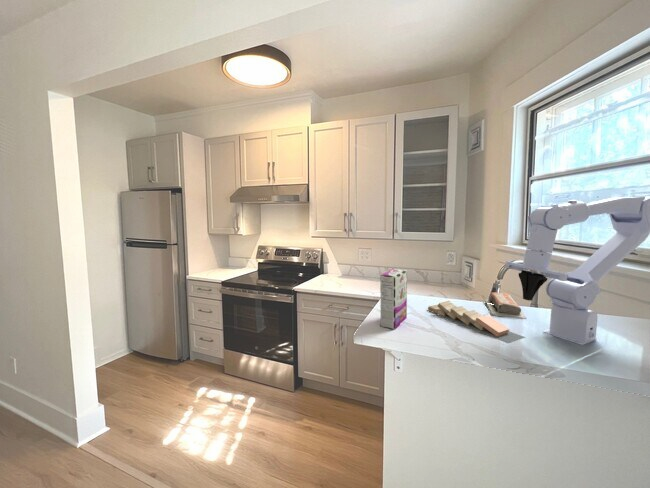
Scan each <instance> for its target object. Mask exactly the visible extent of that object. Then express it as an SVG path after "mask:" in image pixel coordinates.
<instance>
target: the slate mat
mask: <svg viewBox="0 0 650 488" xmlns="http://www.w3.org/2000/svg"><path fill="white" fill-rule="evenodd" d="M436 316H438V317H439V318H443V319H445V320H448V321H451V322H453V323H456V324H457V325H459V326H462V327H464V328H465V327H466V328H467V329H471V330H473V331H475V332H478V333H480V334H484V335H486V336H488V337H491V338H493V339H496V340H498V341H501V342H503V343H506V344H510V343H513V342H516V341H518V340H521V339H525V338H526V336H523V335H521V334H518V333H515V332H513V331H510V330H509V332H508V333H507V334H504V335H501V336H495V335H494V334H493V333H491V332H490V331H488V330H487V329H486V330H482V331H481V330H480V329H479V328H477V327H476V326H475V325H473V324H471V325H467V324H465V323H464V322H463V321H461V320H460V319H459V318H458V319H455V320H454V319H452V318H451V317H450V316H449V315H447V316H443V315H440V314H436Z"/></svg>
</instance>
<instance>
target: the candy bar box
mask: <svg viewBox="0 0 650 488" xmlns="http://www.w3.org/2000/svg"><path fill="white" fill-rule="evenodd" d="M379 277H380V327H381V328H386V329H390V330H396V329H397V328H398V327H399V326H400V325H401V324H402V323H403V322H404V321H405V320H406V319H407V309H408V305H407V304H408V303H407V299H408V283H407V282H408V270H407V269H401V268H392V269H391V270H389V271H386V272H384V273H382V274H380V276H379Z"/></svg>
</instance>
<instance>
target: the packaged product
mask: <svg viewBox="0 0 650 488" xmlns="http://www.w3.org/2000/svg"><path fill="white" fill-rule="evenodd" d="M484 303H485V305H486V303H492V304H494V305H491V304H487V305H486V307H487V309H488V311H489V313H490V316H495V317H503V318H505V317H506V318H511V319H521V320H527V317H526V315H525V314H524V313H523V311H522V309H521V307H520V305H518V303H517V302H516V301H515V299H513V297H512V295H511V294H509V293H505V292H495V291H494V292H490V294H489V298H485V299H484Z"/></svg>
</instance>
